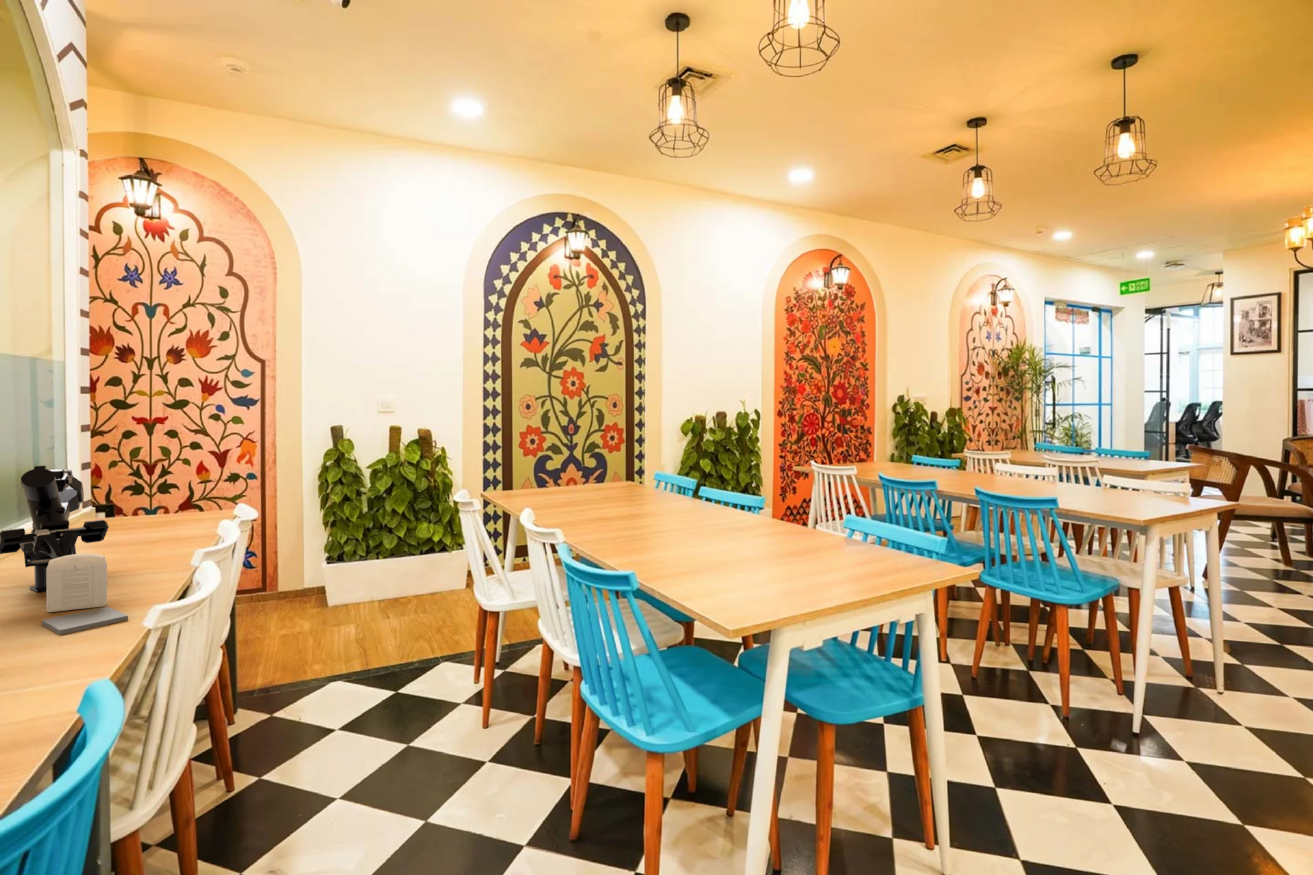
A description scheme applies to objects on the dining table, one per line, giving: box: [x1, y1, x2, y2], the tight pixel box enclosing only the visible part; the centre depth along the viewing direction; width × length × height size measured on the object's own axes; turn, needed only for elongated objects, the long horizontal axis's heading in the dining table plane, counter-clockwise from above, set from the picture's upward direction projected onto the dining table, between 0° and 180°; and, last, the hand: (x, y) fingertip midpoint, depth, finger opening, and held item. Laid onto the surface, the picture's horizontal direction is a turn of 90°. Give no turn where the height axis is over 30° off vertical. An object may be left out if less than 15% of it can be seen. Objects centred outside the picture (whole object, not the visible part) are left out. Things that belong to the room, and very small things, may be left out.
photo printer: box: [45, 553, 108, 613], centre depth 142 cm, size 10×4×12 cm, turn 123°
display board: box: [41, 606, 129, 636], centre depth 133 cm, size 11×11×1 cm
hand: (63, 564), depth 145 cm, fingers closed
